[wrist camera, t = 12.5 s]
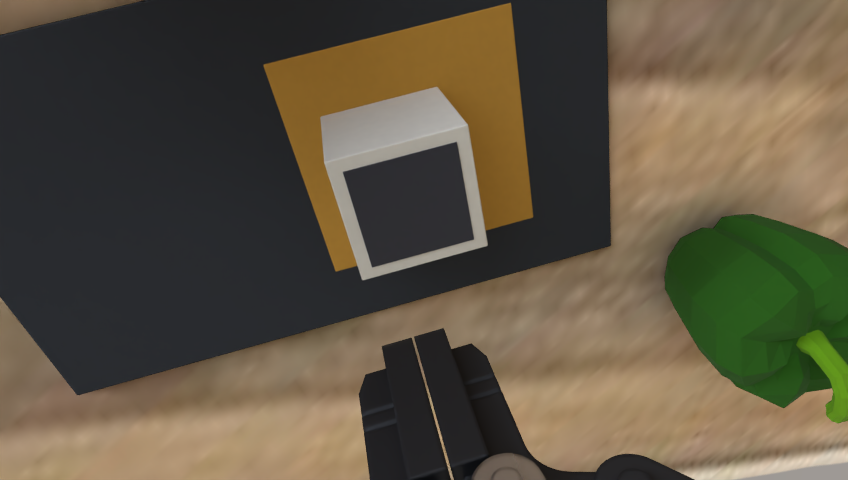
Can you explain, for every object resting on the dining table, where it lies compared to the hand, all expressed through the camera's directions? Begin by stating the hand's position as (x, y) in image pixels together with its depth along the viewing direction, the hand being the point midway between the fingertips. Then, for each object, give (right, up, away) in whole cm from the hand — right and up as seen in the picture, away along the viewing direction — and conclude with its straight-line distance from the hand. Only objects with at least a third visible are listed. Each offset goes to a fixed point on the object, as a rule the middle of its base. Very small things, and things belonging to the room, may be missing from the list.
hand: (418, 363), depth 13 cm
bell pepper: (+16, +2, +18) cm, 24 cm away
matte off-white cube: (0, +4, +7) cm, 8 cm away
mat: (-5, +6, +11) cm, 14 cm away
